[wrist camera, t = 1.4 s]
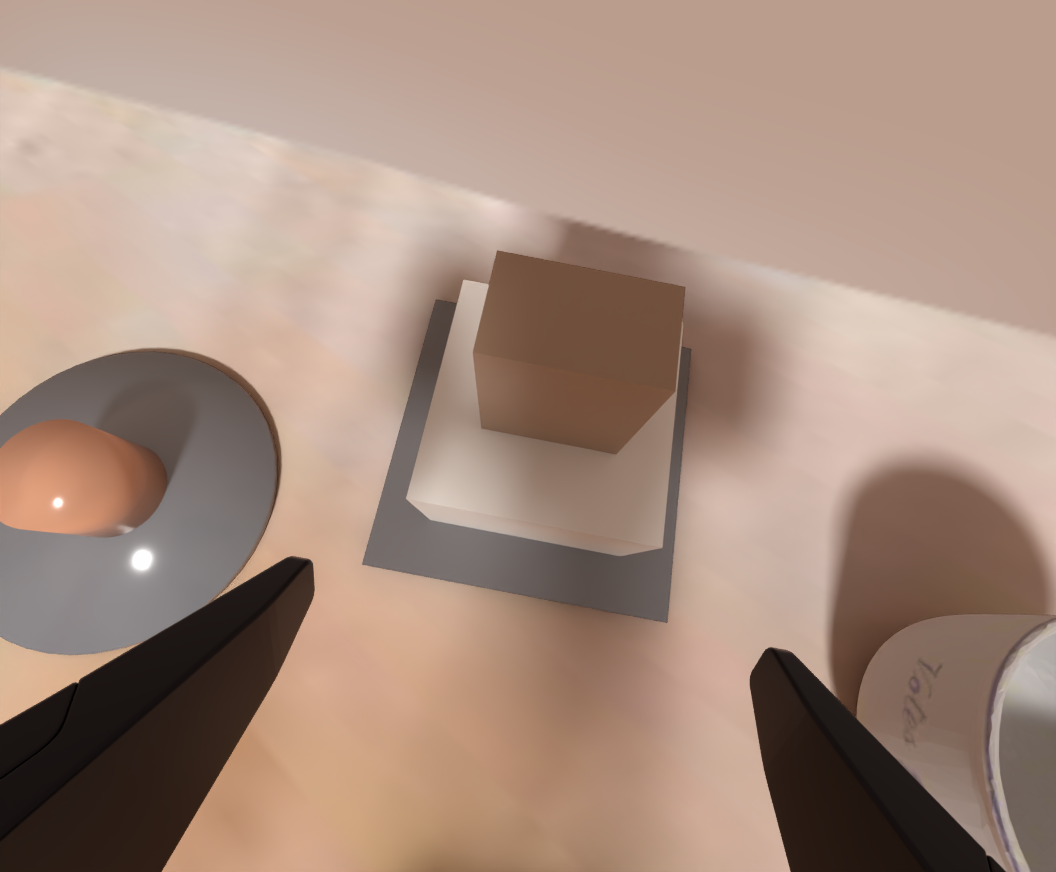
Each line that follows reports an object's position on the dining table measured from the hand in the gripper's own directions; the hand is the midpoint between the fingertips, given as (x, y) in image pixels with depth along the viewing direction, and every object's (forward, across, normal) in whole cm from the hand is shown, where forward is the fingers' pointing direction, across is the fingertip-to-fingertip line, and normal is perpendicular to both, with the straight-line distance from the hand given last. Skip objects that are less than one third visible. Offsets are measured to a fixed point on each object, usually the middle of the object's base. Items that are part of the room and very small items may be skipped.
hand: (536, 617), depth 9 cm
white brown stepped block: (+14, 0, +4) cm, 14 cm away
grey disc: (+10, +19, +8) cm, 23 cm away
